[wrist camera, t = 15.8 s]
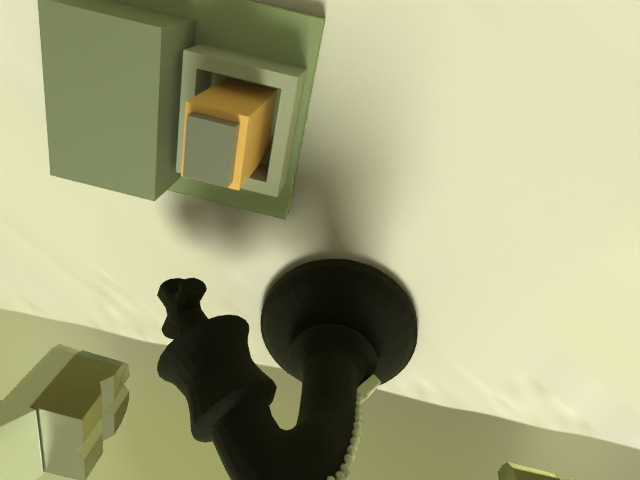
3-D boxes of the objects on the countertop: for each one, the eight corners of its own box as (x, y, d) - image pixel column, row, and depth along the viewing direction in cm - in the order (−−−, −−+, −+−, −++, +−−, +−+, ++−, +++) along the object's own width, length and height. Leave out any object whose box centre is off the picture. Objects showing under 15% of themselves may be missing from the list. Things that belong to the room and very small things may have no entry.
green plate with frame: (325, 18, 35) (309, 27, 29) (288, 213, 43) (268, 253, 37) (85, -39, 36) (19, -43, 30) (91, 164, 44) (39, 195, 37)
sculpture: (367, 405, 53) (344, 709, 31) (164, 307, 50) (-17, 561, 28) (448, 305, 45) (494, 611, 23) (215, 186, 43) (25, 402, 21)
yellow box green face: (277, 90, 37) (244, 121, 29) (267, 152, 39) (234, 196, 32) (226, 78, 37) (179, 105, 29) (219, 140, 40) (174, 181, 32)
